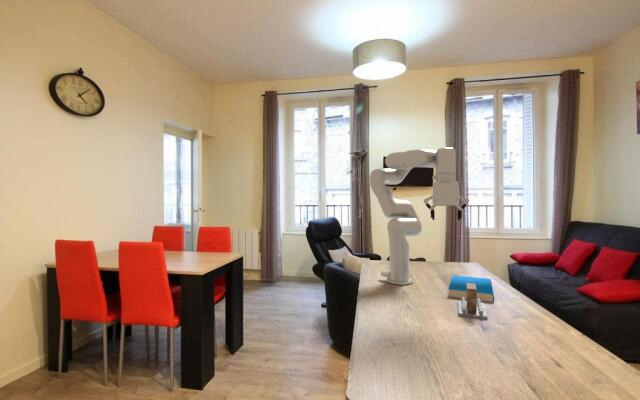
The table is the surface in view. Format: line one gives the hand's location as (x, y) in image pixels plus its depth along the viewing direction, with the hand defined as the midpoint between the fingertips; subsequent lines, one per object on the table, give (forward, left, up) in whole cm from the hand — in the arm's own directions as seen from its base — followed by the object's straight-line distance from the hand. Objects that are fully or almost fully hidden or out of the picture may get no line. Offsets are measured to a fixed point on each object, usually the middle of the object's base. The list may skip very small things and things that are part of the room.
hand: (445, 220), depth 130 cm
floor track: (+9, -11, -32) cm, 35 cm away
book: (+10, +16, -33) cm, 38 cm away
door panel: (+9, -11, -31) cm, 34 cm away
